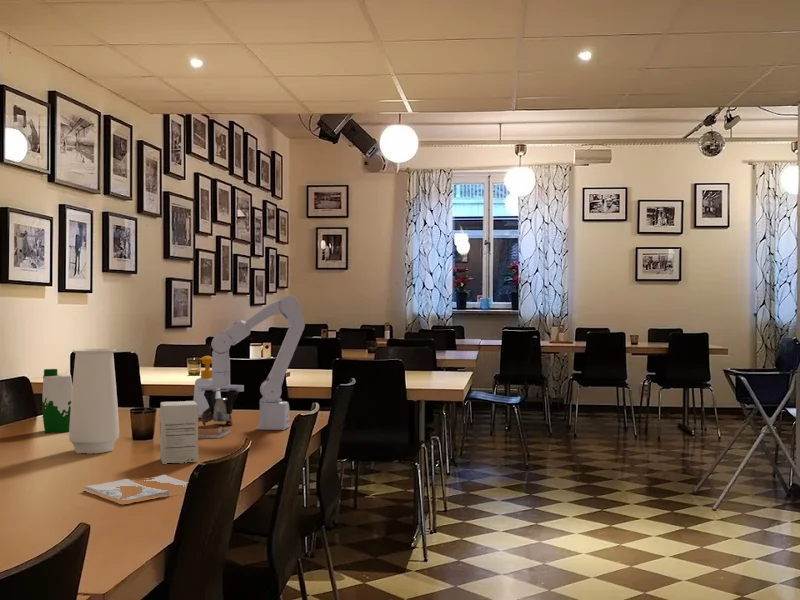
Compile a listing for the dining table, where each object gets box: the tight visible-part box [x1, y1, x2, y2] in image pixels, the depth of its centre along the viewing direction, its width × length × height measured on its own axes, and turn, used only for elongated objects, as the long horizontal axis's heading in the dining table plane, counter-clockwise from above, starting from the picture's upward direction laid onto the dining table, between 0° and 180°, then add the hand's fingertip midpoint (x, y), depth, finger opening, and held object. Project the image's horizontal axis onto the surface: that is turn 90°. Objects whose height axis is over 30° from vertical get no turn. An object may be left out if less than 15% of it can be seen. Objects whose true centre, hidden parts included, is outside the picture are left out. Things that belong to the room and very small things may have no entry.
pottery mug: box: [201, 408, 234, 427], centre depth 271 cm, size 12×10×8 cm
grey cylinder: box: [212, 397, 229, 423], centre depth 260 cm, size 5×5×7 cm
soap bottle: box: [193, 355, 222, 419], centre depth 295 cm, size 10×14×22 cm
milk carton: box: [41, 368, 73, 434], centre depth 259 cm, size 9×9×20 cm
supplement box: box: [159, 400, 199, 465], centre depth 208 cm, size 9×9×15 cm
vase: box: [68, 348, 120, 455], centre depth 223 cm, size 13×13×28 cm
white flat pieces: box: [83, 474, 188, 500], centre depth 173 cm, size 19×20×2 cm
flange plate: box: [198, 424, 232, 439], centre depth 250 cm, size 12×12×2 cm
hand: (221, 413), depth 260 cm, fingers closed on grey cylinder, 5 cm apart
